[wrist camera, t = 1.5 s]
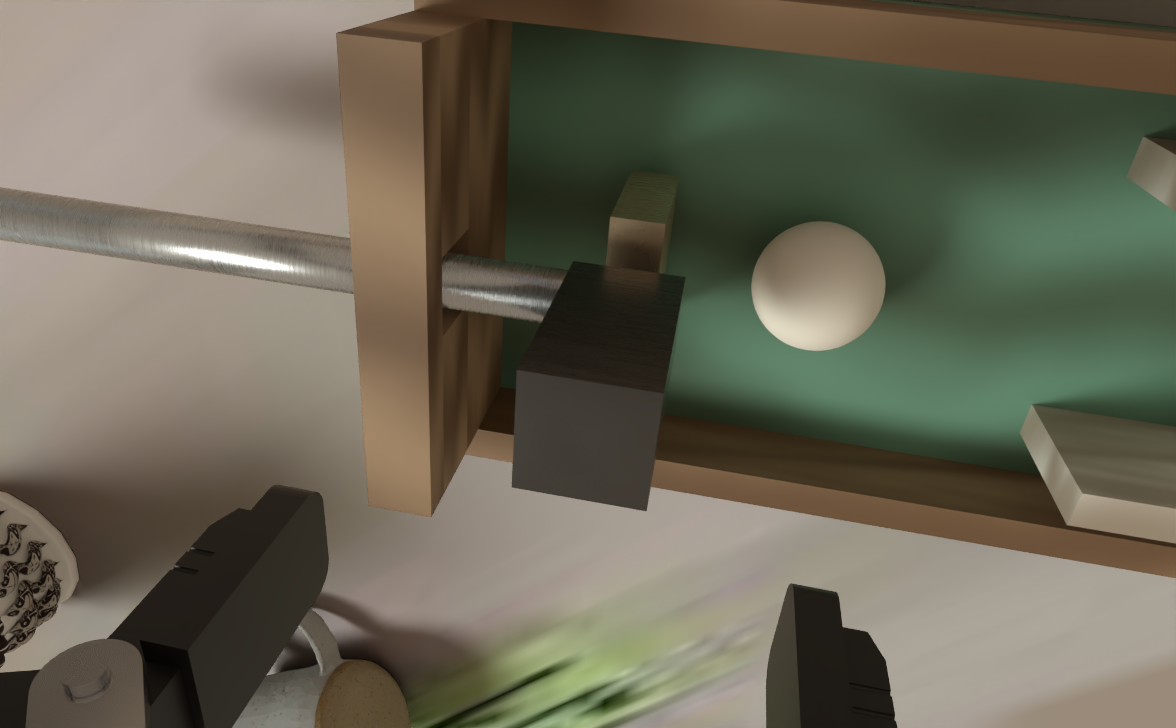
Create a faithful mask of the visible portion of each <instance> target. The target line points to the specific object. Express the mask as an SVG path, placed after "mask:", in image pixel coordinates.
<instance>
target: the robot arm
mask: <svg viewBox="0 0 1176 728" xmlns="http://www.w3.org/2000/svg"><path fill="white" fill-rule="evenodd" d="M328 562H329V558H328V547H327V536H326V526H325V516H324V506H323V499H322V496H321V495H320V494H319V493H318V492H314V491H308V490H303V489H298V488H292V487H287V486H282V485H275V486H273V487H271V488H270V489H269V490H268V491H267V492H266V494H265V495H264V496H263V497H262V498H261V499H260V501H259V502H258V503H257V504H256V505H255V506H254V507H253V509H252V510H245V509H240V508H239V509H237V510H235V511H234V512H232V513H230V514H229V515H227V516H225V517H224V518H222V519H220V520H219V521H217V522H215V523H214V524H212V525H210V526H209V528H208V529H207V530H206V531H205V532H204V533H203V534H202V535H201V536H200V537H199V539H198V540H197V541H196V542H195V543H194V544H193V545H192V546H191V549H190V551H189V552H186V553H185V554H184V555H183V556H182V557H181V558H180V559H179V561H178V562H177V563H176V564H175V565H174V569H173V570H169V572H168V573H167V574H166V575H165V576H164V577H163V578H162V579H161V580H160V581H159V583H158V584H157V585H156V586H155V587H154V588H153V589H152V590H151V591H150V592H149V594H148V595H147V596H146V597H145V598H144V599H143V600H142V601H141V602H140V603H139V605H138V606H137V607H136V608H135V609H134V610H133V611H132V612H131V613H130V614H129V616H128V617H127V618H126V619H125V620H124V621H123V622H122V623H121V624H120V625H119V627H118V628H117V629H116V630H115V631H114V632H113V633H112V634H111V635H110V636H109V637H108V638H107V639H99V640H93V641H88V642H85V643H82V644H79V645H76V646H74V647H72V648H69V649H67V650H66V651H64V652H62V653H60V654H59V655H57V656H56V657H54V658H53V659H51V660H50V661H49V662H48V663H47V664H46V665H45V666H44V667H43V668H42V669H41V670H32V671H18V672H4V673H0V728H232V727H233V725H234V724H235V722H236V721H237V719H238V718H239V716H240V715H241V713H242V712H243V710H244V709H245V707H246V706H247V704H248V703H249V701H250V699H251V698H252V696H253V695H254V693H255V692H256V690H257V689H258V687H259V686H260V684H261V683H262V681H263V680H264V678H265V676H266V675H267V673H268V672H269V670H270V669H271V667H272V666H273V664H274V663H275V661H276V660H277V658H278V657H279V655H280V654H281V652H282V650H283V649H284V647H285V646H286V644H287V643H288V641H289V640H290V638H291V637H292V635H293V634H294V632H295V631H296V629H297V628H298V626H299V624H300V623H301V621H302V620H303V618H304V617H305V615H306V614H307V612H308V611H309V609H310V608H311V606H312V605H313V603H314V602H315V600H316V598H317V597H318V595H319V594H320V592H321V590H322V587H323V585H324V582H325V579H326V575H327V571H328ZM890 692H891V689H890V683H889V677H888V672H887V666H886V661H885V659H884V657H883V656H882V654H881V653H880V651H879V649H878V648H877V646H876V645H875V643H874V642H873V640H872V638H871V637H870V635H869V634H868V632H865V631H860V630H855V629H849V628H844V627H842V619H841V611H840V602H839V597H838V594H837V593H836V592H833V591H828V590H823V589H817V588H812V587H807V586H802V585H796V584H790V585H789V586H788V589H787V592H786V595H785V599H784V602H783V606H782V610H781V613H780V617H779V621H778V624H777V628H776V632H775V635H774V639H773V643H772V646H771V650H770V655H769V661H768V668H767V679H766V728H897V724H896V721H895V720H894V718H895V712H894V706H893V701H892V697H891V696H890Z"/></svg>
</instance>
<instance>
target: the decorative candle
mask: <svg viewBox="0 0 1176 728" xmlns="http://www.w3.org/2000/svg"><path fill="white" fill-rule="evenodd" d="M78 581H79V574H78V568H77V562H76V557H75V555H74V553H73V552H72V550H71V548H70V547H69V545H68V544H67V542H66V540H65V539H64V537H63V535H62V534H61V532H60V531H59V530H58V529H56V528H55V527H54V526H53V525H52V524H51V523H50V522H49V521H48V520H47V519H46V518H45V517H44V516H43V515H42V514H41V513H40V512H38V511H37V510H36V509H34V508H33V507H31V506H29V505H27V504H26V503H24V502H22V501H21V500H19V499H17V498H15V497H14V496H12V495H10V494H9V493H6V492H2V491H0V668H1V667H2V666H3V664H4V662H5V656H4V654H5V653H8V652H11V651H14V650H15V649H17V648H18V647H20V646H21V645H23V644H25V643H26V642H28V641H29V640H30V639H31V638H32V636H33V635H34V633H35V630H36V628H37V627H38V626H40V625H41V624H42V623H43V622H46V621H48V620H49V619H50V618H52V617H53V615H54V614H55V612H56V610H57V607H58V604H60V603H62V602H64V601H65V600H67V599H69V598H70V597H71V596H72V594H73V592H74V590H75V587H76V585H77V583H78Z"/></svg>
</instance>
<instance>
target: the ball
mask: <svg viewBox="0 0 1176 728" xmlns="http://www.w3.org/2000/svg"><path fill="white" fill-rule="evenodd" d="M885 284H886V283H885V274H884V269H883V265H882V263H881V260H880V258H879V256H878V254H877V253H876V251H875V249H874V248H873V246H872V245H871V244H870V243H869V242H868V241H867V240H866V239H865V238H864V237H863V236H862V235H860V234H859V233H857V232H856V231H854V230H853V229H851V228H849V227H847V226H844V225H841V224H838V223H833V222H824V221H816V222H808V223H803V224H800V225H796V226H794V227H792V228H789V229H787V230H786V231H784V232H782V233H781V234H779V235H778V236H777V237H775V238H774V239H773V240H772V241H771V242H770V243H769V244H768V245H767V246H766V248H765V249H764V250H763V252H762V254H761V255H760V257H759V259H758V261H757V263H756V265H755V268H754V272H753V276H752V284H751V291H752V298H753V304H754V307H755V310H756V312H757V314H758V316H759V318H760V320H761V322H762V323H763V325H764V326H765V327H766V328H767V329H768V330H769V332H771V333H772V334H773V335H774V336H775V337H776V338H778V339H779V340H781V341H782V342H784V343H786V344H788V345H790V346H793V347H796V348H799V349H804V350H811V351H823V350H830V349H834V348H838V347H841V346H843V345H846V344H848V343H850V342H852V341H853V340H855V339H856V338H858V337H859V336H860V335H862V334H863V333H864V332H865V331H866V330H867V329H868V328H869V327H870V326H871V324H872V323H873V321H874V320H875V318H876V317H877V315H878V313H879V311H880V309H881V306H882V304H883V299H884V295H885Z"/></svg>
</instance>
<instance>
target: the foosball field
mask: <svg viewBox="0 0 1176 728" xmlns="http://www.w3.org/2000/svg"><path fill="white" fill-rule="evenodd" d="M414 8H415V11H411V12H408V13H404V14H401V15H397V16H394V17H390V18H387V19H383V20H380V21H377V22H373V23H370V24H366V25H363V26H359V27H356V28H352V29H349V30H345V31H342V32H338V33H336V38H337V52H338V67H339V81H340V96H341V110H342V125H343V139H344V154H345V169H346V183H347V198H348V212H349V227H350V241H351V256H352V270H353V285H354V299H355V314H356V329H357V343H358V358H359V372H360V387H361V401H362V416H363V430H364V445H365V460H366V474H367V489H368V503H369V506H373V507H379V508H384V509H389V510H395V511H400V512H406V513H411V514H417V515H422V516H427V517H432V515H433V513H434V511H435V509H436V507H437V505H438V504H439V502H440V500H441V498H442V496H443V494H444V492H445V490H446V489H447V487H448V485H449V483H450V481H451V479H452V477H453V475H454V474H455V472H456V470H457V468H458V466H459V464H460V462H461V460H462V459H463V457H464V455H465V454H466V455H472V456H478V457H483V458H489V459H495V460H501V461H506V462H512V463H513V447H514V423H515V400H516V376H517V369H518V367H519V365H520V363H521V361H522V359H523V357H524V355H525V353H526V351H527V349H528V347H529V345H530V343H531V342H532V340H533V338H534V336H535V334H536V332H537V330H538V328H539V326H540V324H541V323H538V322H532V321H525V320H519V319H512V318H506V317H499V316H493V315H486V314H479V313H473V312H466V311H460V310H453V309H447V308H442V258H443V256H444V255H445V254H446V253H447V252H449V253H455V254H462V255H469V256H476V257H483V258H490V259H497V260H504V261H510V262H517V263H524V264H531V265H538V266H545V267H552V268H559V269H565V270H569V268H570V266H571V264H572V262H573V261H578V262H585V263H592V264H599V265H606V256H607V245H608V235H609V225H610V216H611V214H612V212H613V210H614V208H615V206H616V203H617V201H618V199H619V197H620V195H621V193H622V191H623V189H624V187H625V184H626V182H627V180H628V178H629V176H630V174H631V172H632V170H635V171H642V172H650V173H658V174H665V175H673V176H679V181H678V188H677V195H676V203H675V210H674V217H673V224H672V231H671V239H670V246H669V253H668V260H667V268H666V274H668V275H675V276H682V277H686V278H685V285H684V291H683V298H682V304H681V311H680V318H679V324H678V331H677V337H676V344H675V351H674V357H673V364H672V370H671V377H670V382H669V388H668V393H667V399H666V405H665V410H664V416H663V421H662V427H661V433H660V438H659V444H658V449H657V455H656V461H655V466H654V472H653V477H652V483H651V487H656V488H661V489H667V490H673V491H679V492H684V493H690V494H696V495H702V496H707V497H713V498H719V499H724V500H730V501H736V502H742V503H747V504H753V505H759V506H765V507H770V508H776V509H782V510H788V511H793V512H799V513H805V514H811V515H816V516H822V517H828V518H834V519H839V520H845V521H851V522H857V523H862V524H868V525H874V526H879V527H885V528H891V529H897V530H902V531H908V532H914V533H920V534H925V535H931V536H937V537H943V538H948V539H954V540H960V541H966V542H971V543H977V544H983V545H989V546H994V547H1000V548H1006V549H1011V550H1017V551H1023V552H1029V553H1034V554H1040V555H1046V556H1052V557H1057V558H1063V559H1069V560H1075V561H1080V562H1086V563H1092V564H1098V565H1103V566H1109V567H1115V568H1121V569H1126V570H1132V571H1138V572H1143V573H1149V574H1155V575H1161V576H1166V577H1172V578H1176V28H1174V27H1164V26H1155V25H1145V24H1135V23H1125V22H1116V21H1106V20H1096V19H1086V18H1076V17H1067V16H1057V15H1047V14H1037V13H1027V12H1018V11H1008V10H998V9H988V8H979V7H969V6H959V5H949V4H939V3H930V2H920V1H910V0H414ZM816 221H824V222H833V223H838V224H841V225H844V226H847V227H849V228H851V229H853V230H854V231H856V232H857V233H859V234H860V235H862V236H863V237H864V238H865V239H866V240H867V241H868V242H869V243H870V244H871V245H872V246H873V248H874V249H875V251H876V253H877V254H878V256H879V258H880V260H881V263H882V265H883V269H884V274H885V283H886V284H885V295H884V299H883V304H882V306H881V309H880V311H879V313H878V315H877V317H876V318H875V320H874V321H873V323H872V324H871V326H870V327H869V328H868V329H867V330H866V331H865V332H864V333H863V334H862V335H860V336H859V337H858V338H856V339H855V340H853V341H852V342H850V343H848V344H846V345H843V346H841V347H838V348H834V349H830V350H823V351H811V350H804V349H799V348H796V347H793V346H790V345H788V344H786V343H784V342H782V341H781V340H779V339H778V338H776V337H775V336H774V335H773V334H772V333H771V332H769V330H768V329H767V328H766V327H765V326H764V325H763V323H762V322H761V320H760V318H759V316H758V314H757V312H756V310H755V307H754V304H753V298H752V291H751V284H752V276H753V272H754V268H755V265H756V263H757V261H758V259H759V257H760V255H761V254H762V252H763V250H764V249H765V248H766V246H767V245H768V244H769V243H770V242H771V241H772V240H773V239H774V238H775V237H777V236H778V235H779V234H781V233H782V232H784V231H786V230H787V229H789V228H792V227H794V226H796V225H800V224H803V223H808V222H816Z"/></svg>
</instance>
